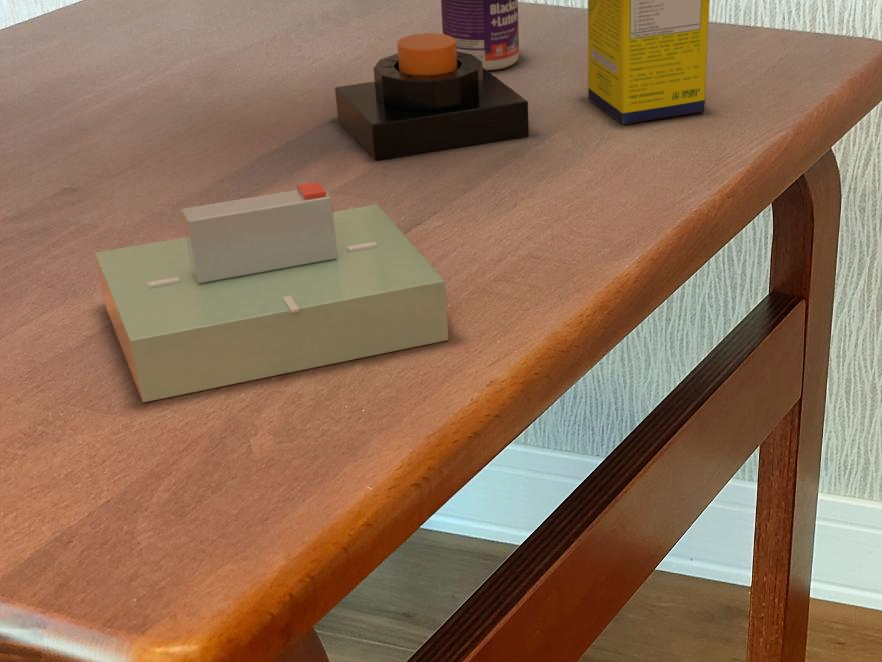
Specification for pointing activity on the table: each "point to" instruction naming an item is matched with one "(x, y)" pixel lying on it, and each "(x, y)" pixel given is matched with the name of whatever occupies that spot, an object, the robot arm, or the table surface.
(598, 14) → the supplement box
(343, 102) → the button block
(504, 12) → the pill bottle
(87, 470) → the table surface
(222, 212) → the red-button grey box
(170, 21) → the table surface
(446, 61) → the button
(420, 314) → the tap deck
